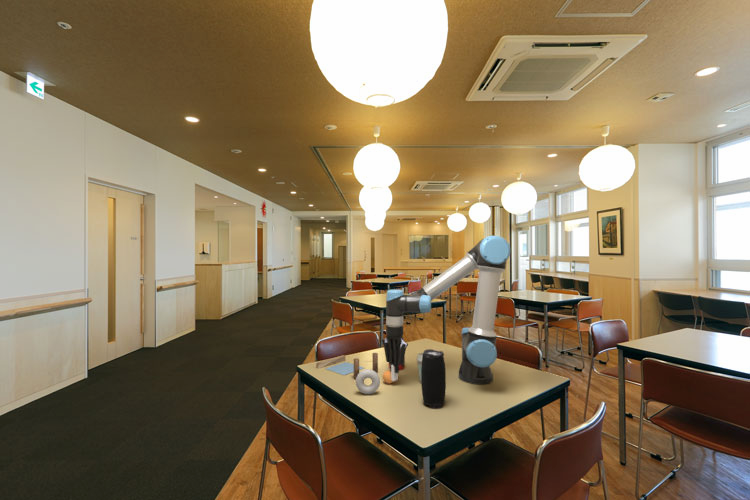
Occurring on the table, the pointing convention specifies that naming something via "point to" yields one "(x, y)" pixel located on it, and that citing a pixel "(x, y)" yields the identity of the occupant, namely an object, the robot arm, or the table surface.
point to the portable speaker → (433, 378)
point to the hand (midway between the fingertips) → (394, 379)
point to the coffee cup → (419, 364)
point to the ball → (387, 376)
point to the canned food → (401, 364)
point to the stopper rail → (330, 361)
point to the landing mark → (343, 368)
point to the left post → (356, 367)
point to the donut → (367, 388)
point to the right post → (375, 362)
